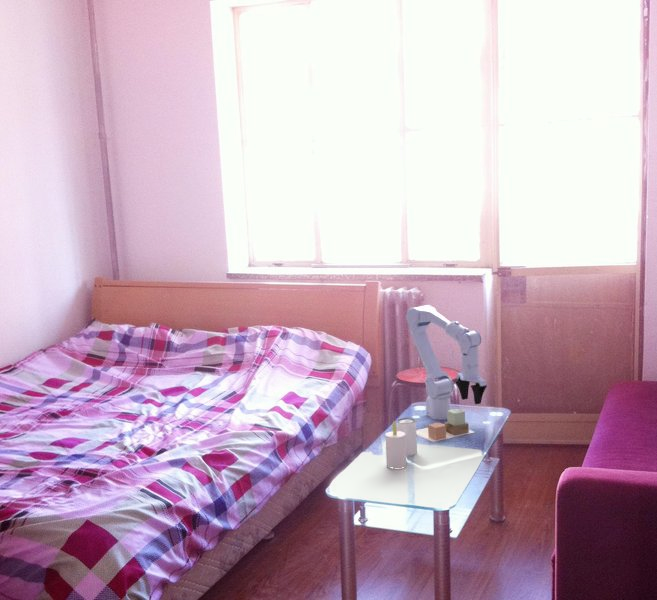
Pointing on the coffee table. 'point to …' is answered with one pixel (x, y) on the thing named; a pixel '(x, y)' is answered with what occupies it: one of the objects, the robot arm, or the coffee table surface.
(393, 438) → the candle
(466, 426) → the walnut block
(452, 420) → the sage block
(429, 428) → the terracotta block
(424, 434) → the cream board
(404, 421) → the can
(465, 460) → the coffee table surface
